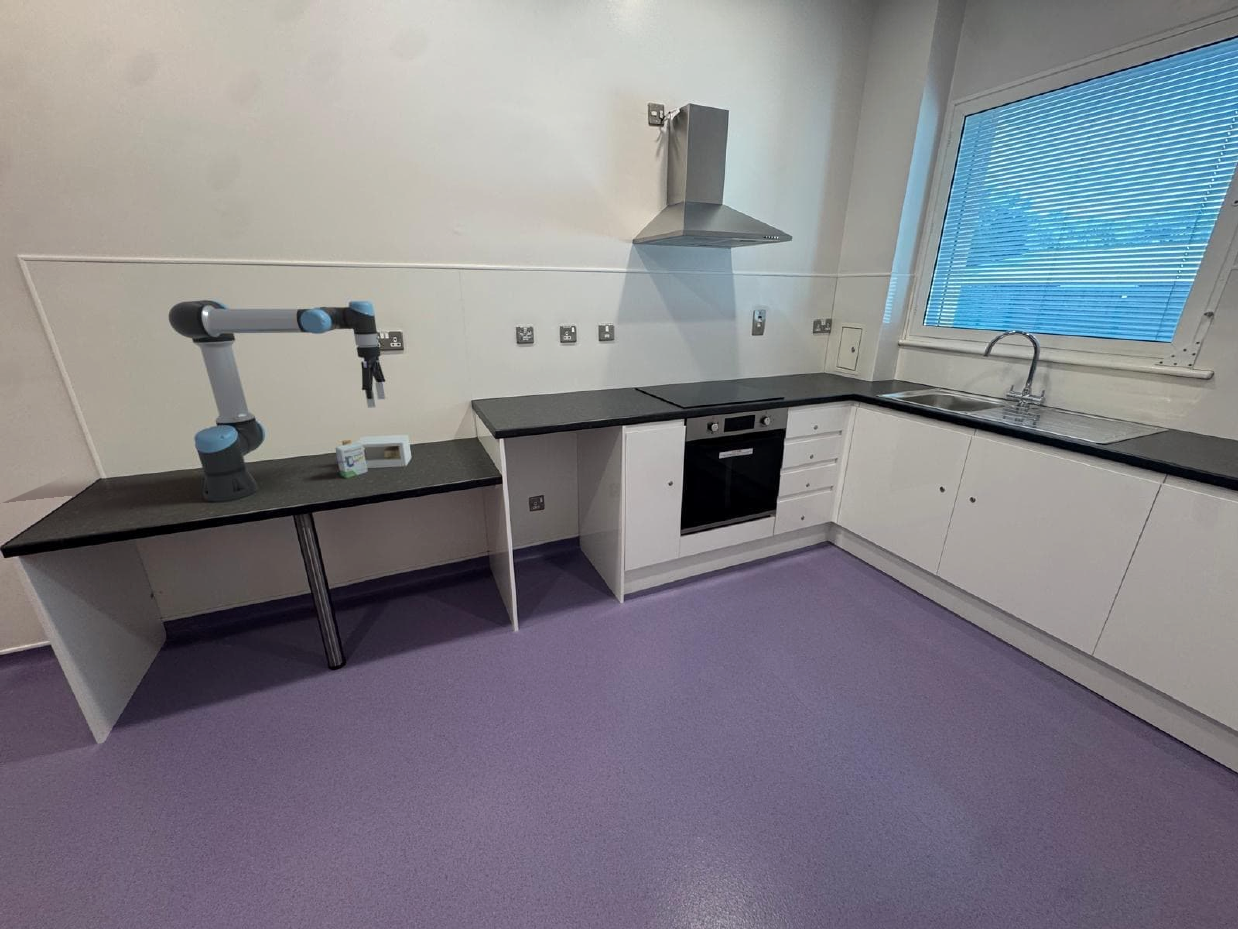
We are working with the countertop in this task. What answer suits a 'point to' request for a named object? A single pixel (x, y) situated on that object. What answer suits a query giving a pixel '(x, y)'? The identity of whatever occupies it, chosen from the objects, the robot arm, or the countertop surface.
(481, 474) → the countertop surface
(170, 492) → the countertop surface
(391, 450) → the corded block
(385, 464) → the box
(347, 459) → the ink box
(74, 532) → the countertop surface
